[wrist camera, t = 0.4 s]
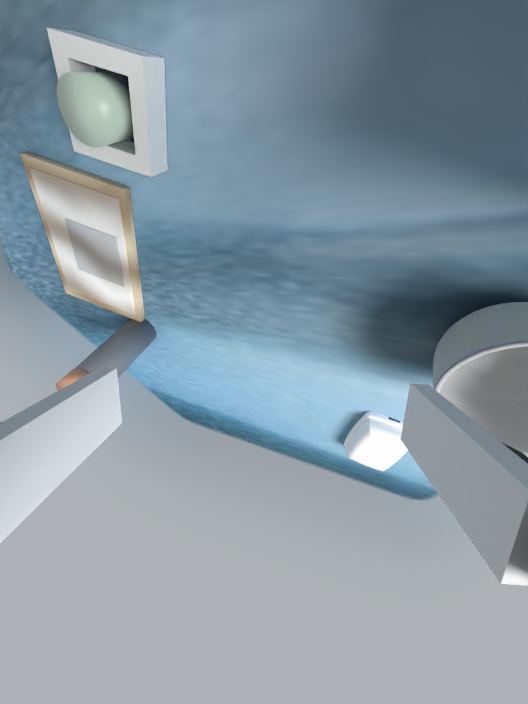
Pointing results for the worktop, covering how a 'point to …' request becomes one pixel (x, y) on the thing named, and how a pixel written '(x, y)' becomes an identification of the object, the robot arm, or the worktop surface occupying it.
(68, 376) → the marker
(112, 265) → the wooden picture frame
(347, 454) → the soap
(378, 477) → the worktop surface
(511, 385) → the teacup
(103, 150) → the button housing
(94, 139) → the button
